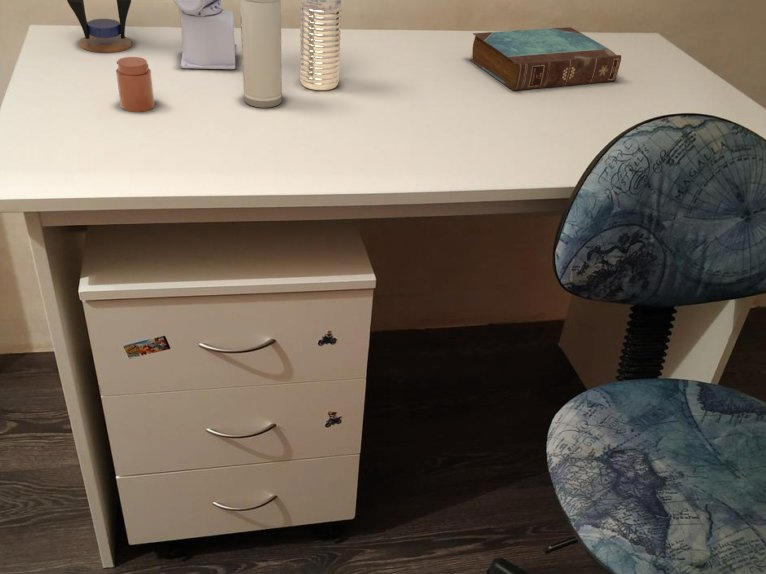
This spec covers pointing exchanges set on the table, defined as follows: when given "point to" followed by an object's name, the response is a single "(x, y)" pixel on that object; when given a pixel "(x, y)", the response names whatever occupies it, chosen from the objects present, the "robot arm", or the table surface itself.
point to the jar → (135, 84)
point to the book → (544, 58)
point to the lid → (103, 28)
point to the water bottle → (320, 43)
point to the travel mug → (261, 52)
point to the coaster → (105, 44)
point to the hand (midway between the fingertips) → (105, 37)
